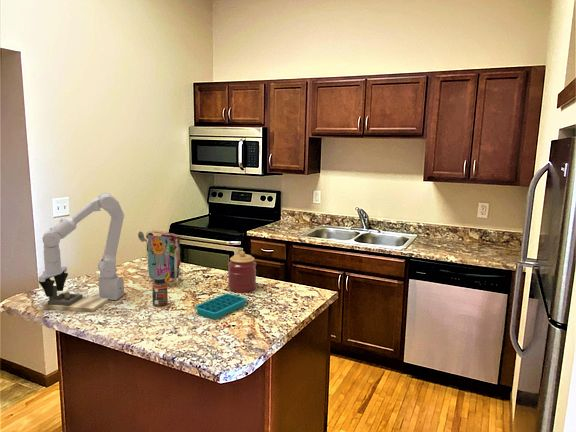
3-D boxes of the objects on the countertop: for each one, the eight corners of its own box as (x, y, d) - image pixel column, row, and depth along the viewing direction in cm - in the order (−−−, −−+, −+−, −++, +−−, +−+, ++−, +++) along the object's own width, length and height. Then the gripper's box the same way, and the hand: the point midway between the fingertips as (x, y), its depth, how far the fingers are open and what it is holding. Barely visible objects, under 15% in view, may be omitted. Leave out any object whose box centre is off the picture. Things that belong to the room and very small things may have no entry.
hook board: (107, 301, 174) (107, 290, 173) (93, 312, 163) (92, 299, 162) (62, 299, 175) (61, 287, 175) (44, 309, 165) (43, 296, 164)
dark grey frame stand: (82, 297, 173) (81, 283, 172) (69, 305, 164) (68, 291, 164) (57, 296, 174) (56, 282, 173) (43, 304, 166) (41, 289, 165)
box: (134, 279, 203) (132, 230, 199) (144, 276, 209) (142, 228, 205) (173, 288, 192) (172, 236, 188) (182, 284, 197) (182, 234, 193)
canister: (254, 293, 188) (255, 255, 185) (225, 292, 188) (225, 254, 185) (257, 284, 201) (257, 248, 198) (230, 283, 201) (230, 247, 198)
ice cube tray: (192, 314, 164) (192, 307, 163) (226, 299, 181) (227, 292, 180) (215, 321, 158) (215, 314, 157) (248, 305, 175) (248, 298, 174)
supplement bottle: (158, 308, 168) (157, 281, 167) (149, 304, 172) (148, 277, 170) (170, 304, 173) (170, 277, 171) (161, 300, 177) (161, 274, 175)
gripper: (54, 255, 175) (56, 287, 177) (30, 265, 160) (32, 299, 163) (70, 256, 174) (72, 288, 176) (47, 266, 160) (50, 300, 162)
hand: (54, 293), depth 169 cm, fingers open, 6 cm apart
